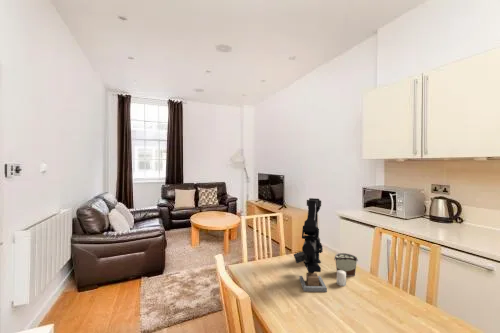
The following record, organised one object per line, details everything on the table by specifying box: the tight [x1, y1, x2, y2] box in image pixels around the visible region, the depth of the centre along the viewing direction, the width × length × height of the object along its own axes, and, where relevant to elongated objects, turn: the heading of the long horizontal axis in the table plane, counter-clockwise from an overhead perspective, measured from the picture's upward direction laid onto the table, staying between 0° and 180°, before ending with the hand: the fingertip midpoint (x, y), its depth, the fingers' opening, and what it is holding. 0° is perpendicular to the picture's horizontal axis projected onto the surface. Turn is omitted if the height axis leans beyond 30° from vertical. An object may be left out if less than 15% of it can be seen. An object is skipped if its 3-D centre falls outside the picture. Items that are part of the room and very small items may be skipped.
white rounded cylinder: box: [336, 270, 347, 287], centre depth 116 cm, size 4×4×6 cm
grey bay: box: [298, 275, 328, 293], centre depth 114 cm, size 12×11×2 cm
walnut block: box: [305, 272, 320, 286], centre depth 115 cm, size 5×5×5 cm
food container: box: [333, 252, 359, 277], centre depth 127 cm, size 12×6×10 cm, turn 84°
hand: (310, 277), depth 119 cm, fingers closed
